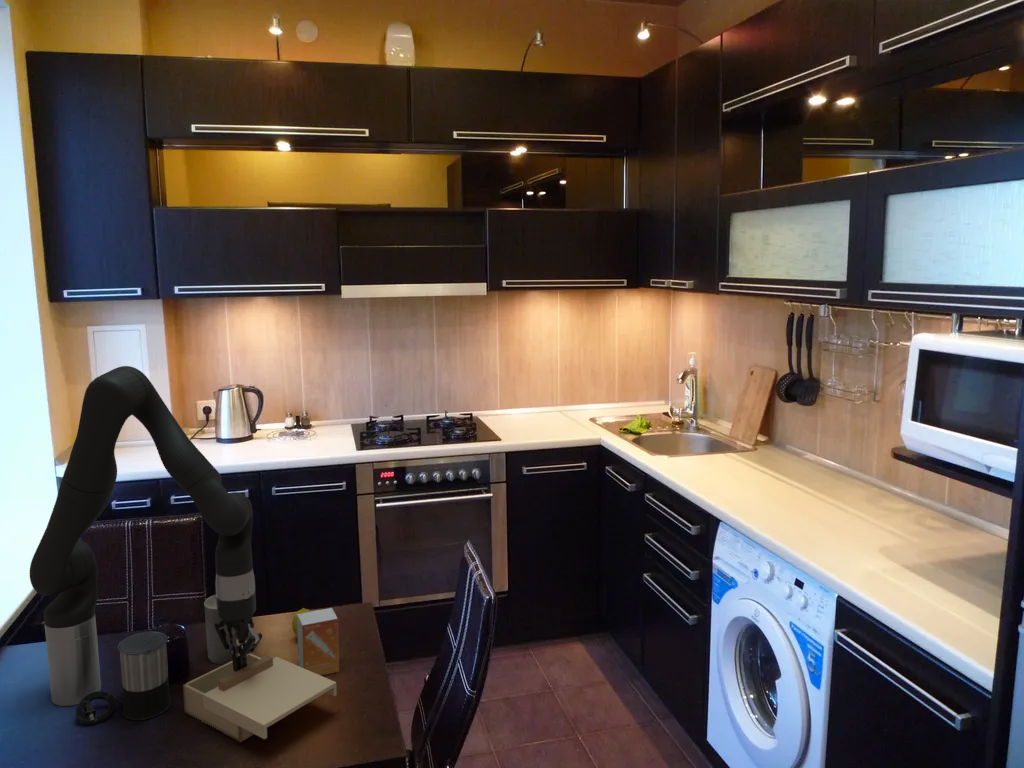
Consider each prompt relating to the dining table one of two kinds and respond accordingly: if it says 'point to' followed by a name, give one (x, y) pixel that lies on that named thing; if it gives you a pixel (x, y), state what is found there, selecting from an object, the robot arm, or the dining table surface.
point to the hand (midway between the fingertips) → (240, 670)
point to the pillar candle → (214, 634)
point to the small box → (318, 641)
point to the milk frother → (136, 681)
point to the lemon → (294, 622)
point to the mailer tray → (205, 684)
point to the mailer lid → (265, 693)
